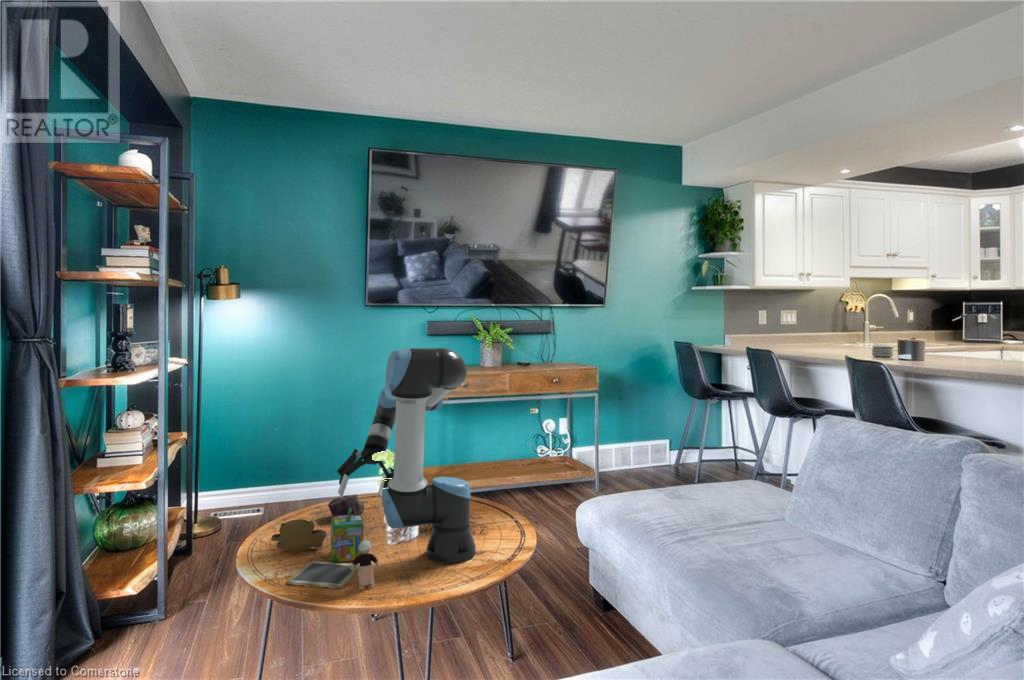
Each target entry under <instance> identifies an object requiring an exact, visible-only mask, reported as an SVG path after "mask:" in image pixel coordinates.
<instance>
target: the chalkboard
mask: <svg viewBox="0 0 1024 680" xmlns="http://www.w3.org/2000/svg"><path fill="white" fill-rule="evenodd" d="M351 565H352V563H345V562H339V563H333V562H329V561H328V562H326V561H314V560H313V561H312V560H311V561H309V563H307V564H306V565H305V566H303V567H301V569H300V570H298V571H297V572H296V573H295V574H293V575H292V576H291V577H290V578H289V579H287V580H286V581H285V585H286V584H294V585H293V586H298V585H304V586H303V587H310V586H318V587H317V588H323V587H329V588H328V589H336V588H340V589H339V590H341V589H343V588H344V587H345V586H346V584H348V583H349V581H351V580H352V578H354V577H355V575H356V574H358V573H359V565H360V564H357V565H355V567H354V569H353V570H351V569H350V567H351Z"/></svg>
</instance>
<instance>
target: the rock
mask: <svg viewBox="0 0 1024 680" xmlns="http://www.w3.org/2000/svg"><path fill="white" fill-rule="evenodd" d="M327 506H328V508H329V511H330V514H331V517H332V516H343V515H347V514H348V510H349V507H351V509H352V513H351V515H354V514H361V515H362V514H363V513H364V510H365V505H364V504H363V503H361V501H360V499H359V497H358V494H351V495H343V496H340V497H337V498H333V499H331V500H330V501H329V503H328V505H327ZM349 514H350V512H349Z"/></svg>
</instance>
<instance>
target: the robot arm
mask: <svg viewBox="0 0 1024 680" xmlns="http://www.w3.org/2000/svg"><path fill="white" fill-rule="evenodd" d="M467 375H468V368H467V365H466V362H465V360H464V358H463V357H462V356H461V355H459V354H458V352H456V351H454V350H451V349H448V348H443V347H442V348H441V347H438V348H434V347H433V348H431V347H430V348H428V347H427V348H426V347H425V348H424V347H422V348H421V347H420V348H418V347H417V348H414V347H413V348H412V347H411V348H410V347H406V348H398V349H394V350H392V351H391V352H390V354H389V356H388V358H387V362H386V368H385V386H384V387H383V388H382V390H381V391H380V394H379V396H378V400H377V401H378V402H377V405H376V409H375V413H374V417H373V419H372V423H371V426H370V428H369V431H368V434H367V437H366V439H365V444H364V445H363V449H362V451H361V450H358V449H357V448H355V449H353V451H352V453H351V455H350V456H349V457H348V458H347V459H346V460H345V461H344V463H342V465H340V467H339V468H338V469H337V470H336V472H337V473H338V475H339V476H340V479H339V481H338V484H339V488H338V491H337V493H338V495H339V496H340V497H344V493H345V491H346V488H347V485H348V482H349V476H350V475H352V474H354V472H356V471H357V470H358V469H360V468H361V467H363V466H365V465H373V466H374V465H375V466H376V465H377V464H378V465H379V467H380V469H381V470H382V471H383V473H384V475H383V476H382V479H383V478H392V479H384V480H387V481H384V480H382V479H381V482H380V485H379V489H378V492H377V495H378V497H379V499H382V500H381V501H382V507H383V513H384V517H385V521H386V523H387V525H388V527H389V528H392V529H401V528H402V529H405V528H410V527H418V526H425V525H431V526H432V529H431V532H430V537H429V539H428V542H427V545H426V557H427V559H429V560H430V561H433V562H436V563H441V564H456V563H462V562H463V563H464V562H466V561H469V560H471V559H473V558H474V557H475V556H476V550H477V549H476V548H477V547H476V543H475V540H474V537H473V534H472V530H471V498H472V496H471V490H470V489H471V488H470V483H468V482H467V481H466V480H464V479H461V478H457V477H451V476H450V477H449V476H438V477H434V478H433V479H432V480H431V483H430V484H429V483H428V480H427V479H426V478H425V477H424V459H425V457H424V455H425V453H424V452H425V432H426V430H425V429H426V412H428V411H429V412H434V411H438V410H441V408H442V406H443V401H444V400H443V398H444V397H445V396H446V395H447V394H448V393H449V392H451V391H454V390H456V389H458V388H460V386H461V385H463V384H464V382H465V381H466V378H467ZM394 425H395V426H394ZM394 427H395V428H394ZM393 428H394V429H395V430H394V451H392V450H391V449H390V450H389V451H391V452H392V453H393V452H394V453H393V455H394V456H393V462H394V469H392V468H391V467H390V466H389V469H390V473H389V471H388V468H387V467H386V466H385V464H384V463H383V461H382V460H381V461H374V460H372V455H373V454H374V453H377V452H381V451H386V452H387V448H388V445H389V441H390V438H391V435H392V432H393ZM382 468H383V469H382ZM382 481H383V482H382ZM383 488H385V489H383Z"/></svg>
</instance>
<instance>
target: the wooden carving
mask: <svg viewBox="0 0 1024 680" xmlns="http://www.w3.org/2000/svg"><path fill="white" fill-rule="evenodd" d="M278 532H279V533H274V534H273V535H271V538H270V541H272V542H277V543H276V546H275V547H276V548H277V549H279V550H283V551H286V552H289V553H298V552H304V551H306V550H308V549H310V548H314V549H315V548H317V549H318V548H322V547H323V542H324V541H325V539H326V537H327V532H326V531H324V530H322V529H315V523H314V521H313V520H307V519H302V518H298V519H292V520H289V521H286V522H284V523H283V522H282V523H281V524H280V526H279V529H278Z"/></svg>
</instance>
